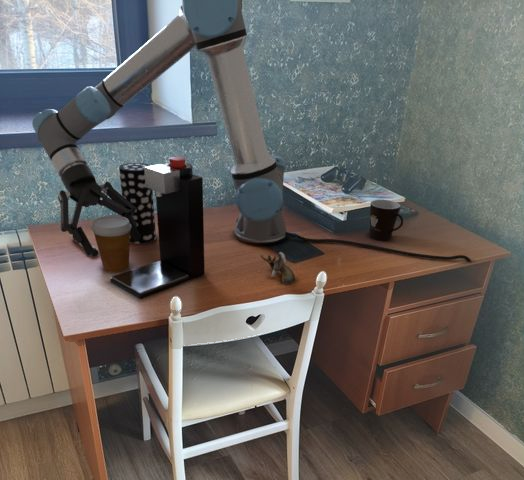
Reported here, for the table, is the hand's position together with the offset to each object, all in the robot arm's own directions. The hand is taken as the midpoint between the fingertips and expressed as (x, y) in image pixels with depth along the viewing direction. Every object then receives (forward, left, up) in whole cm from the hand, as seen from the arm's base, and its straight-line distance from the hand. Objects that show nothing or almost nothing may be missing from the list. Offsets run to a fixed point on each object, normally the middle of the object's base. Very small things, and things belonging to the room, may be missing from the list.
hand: (115, 246), depth 132 cm
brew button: (-16, -4, +20) cm, 26 cm away
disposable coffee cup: (+1, 0, -6) cm, 6 cm away
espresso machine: (-11, +5, -6) cm, 13 cm away
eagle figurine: (-40, -8, -6) cm, 41 cm away
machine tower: (-16, -4, -6) cm, 17 cm away
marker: (+15, -10, -6) cm, 19 cm away
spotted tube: (+3, -21, -6) cm, 22 cm away
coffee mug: (-64, -44, -6) cm, 78 cm away
